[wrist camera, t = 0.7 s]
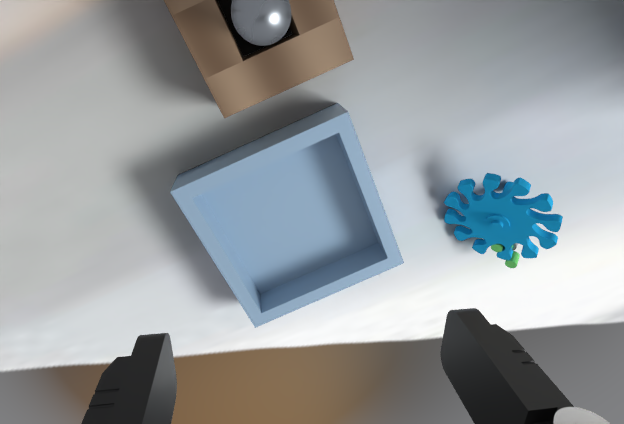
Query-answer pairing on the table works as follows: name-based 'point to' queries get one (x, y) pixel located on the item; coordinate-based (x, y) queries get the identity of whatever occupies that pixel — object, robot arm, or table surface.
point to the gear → (502, 218)
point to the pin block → (260, 51)
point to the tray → (290, 215)
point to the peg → (261, 20)
